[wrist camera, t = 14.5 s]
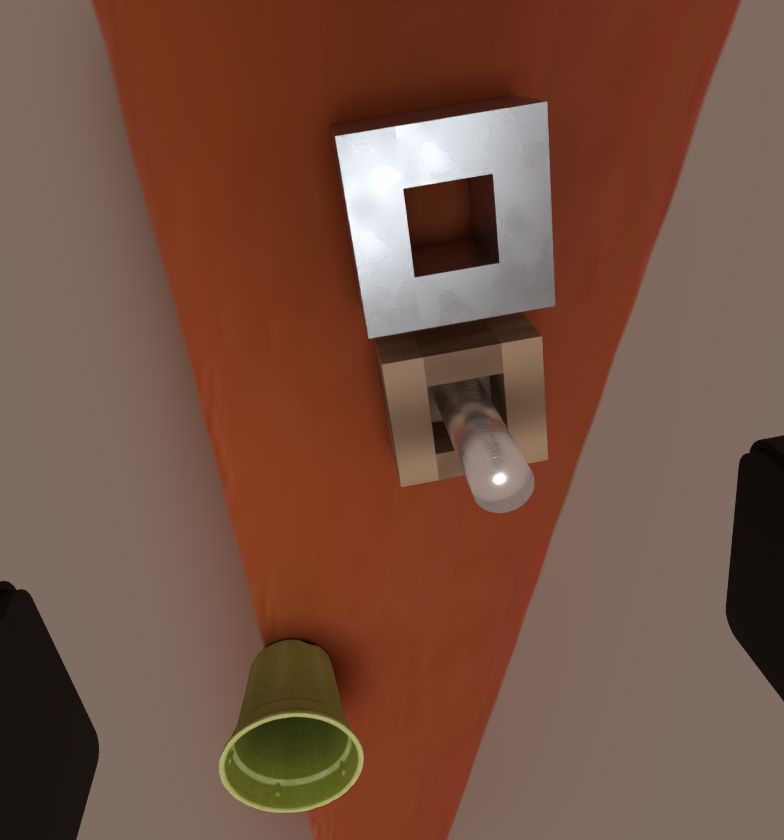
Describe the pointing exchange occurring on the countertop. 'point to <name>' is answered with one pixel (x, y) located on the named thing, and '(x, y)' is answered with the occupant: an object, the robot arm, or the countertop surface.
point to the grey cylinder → (484, 446)
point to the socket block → (490, 203)
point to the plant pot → (291, 734)
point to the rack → (456, 361)
